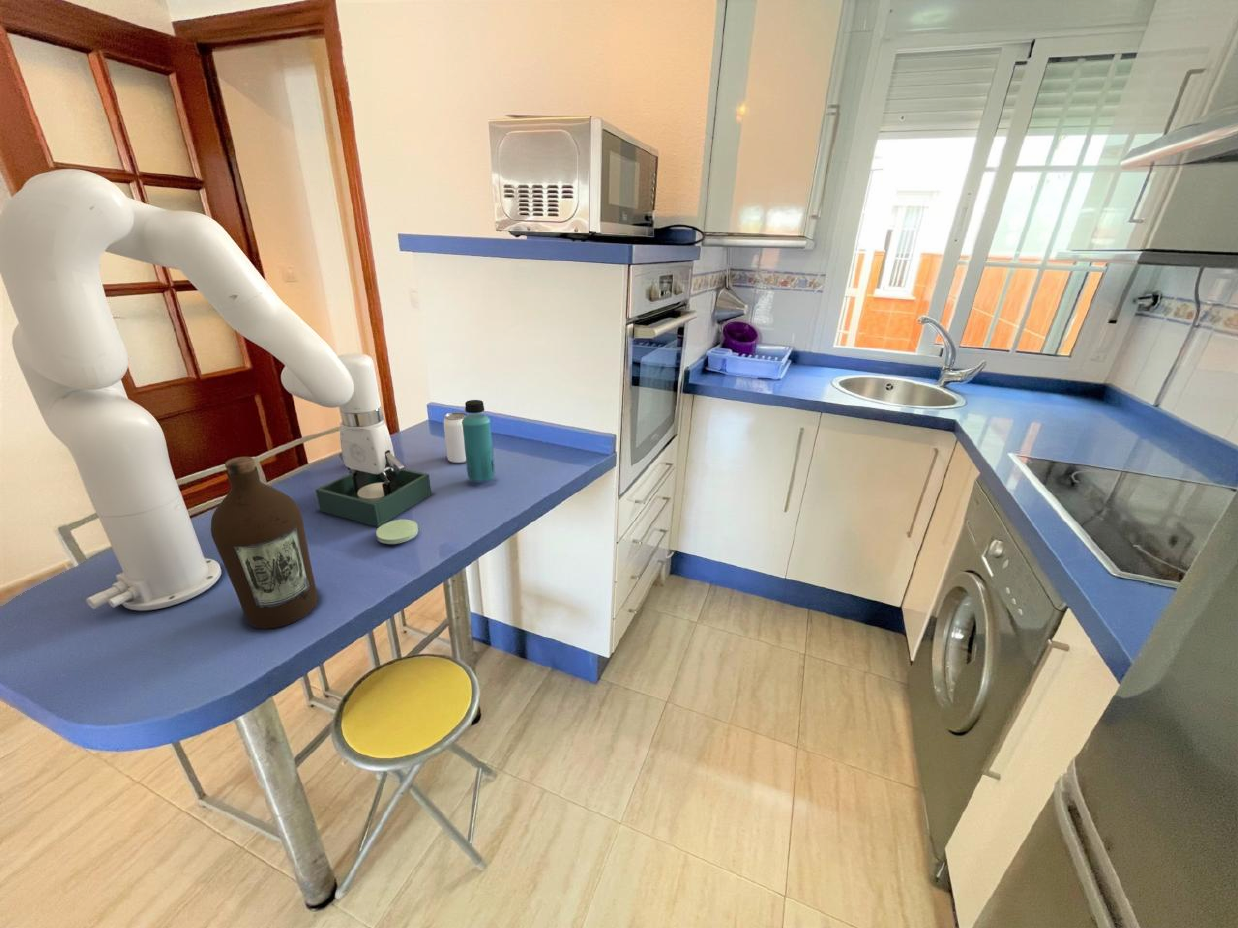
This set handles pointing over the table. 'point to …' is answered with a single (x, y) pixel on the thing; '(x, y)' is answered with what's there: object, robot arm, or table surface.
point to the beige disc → (371, 492)
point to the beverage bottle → (478, 442)
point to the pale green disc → (397, 531)
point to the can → (454, 437)
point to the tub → (346, 503)
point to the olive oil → (263, 549)
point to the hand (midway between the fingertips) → (377, 493)
